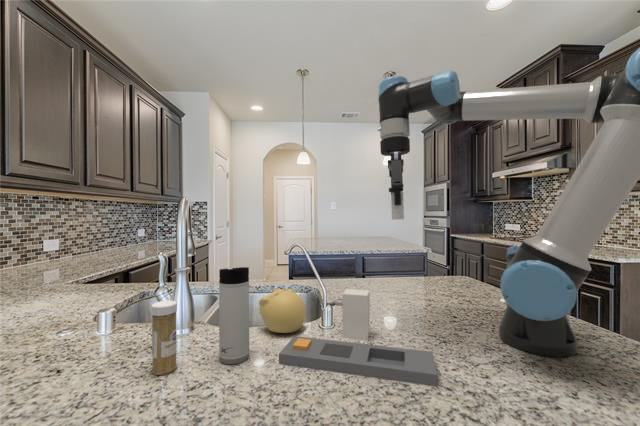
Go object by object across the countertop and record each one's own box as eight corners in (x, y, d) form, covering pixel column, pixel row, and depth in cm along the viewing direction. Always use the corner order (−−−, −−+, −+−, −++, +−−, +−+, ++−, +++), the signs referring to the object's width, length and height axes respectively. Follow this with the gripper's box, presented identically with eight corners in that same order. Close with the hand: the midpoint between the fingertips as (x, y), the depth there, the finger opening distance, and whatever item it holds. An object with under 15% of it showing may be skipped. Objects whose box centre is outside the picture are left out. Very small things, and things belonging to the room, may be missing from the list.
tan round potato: (286, 318, 89) (286, 282, 89) (314, 329, 81) (314, 289, 81) (253, 329, 81) (253, 289, 81) (280, 342, 73) (280, 298, 73)
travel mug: (222, 368, 60) (222, 269, 60) (217, 354, 66) (217, 264, 66) (252, 361, 63) (252, 267, 63) (245, 349, 69) (245, 262, 69)
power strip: (432, 366, 61) (432, 347, 61) (437, 391, 52) (437, 370, 52) (294, 349, 69) (294, 332, 69) (278, 368, 60) (278, 349, 60)
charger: (369, 333, 76) (369, 290, 76) (367, 341, 72) (367, 295, 72) (337, 330, 79) (337, 288, 79) (333, 337, 74) (333, 293, 74)
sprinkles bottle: (173, 374, 58) (173, 305, 58) (148, 377, 57) (147, 307, 57) (179, 362, 63) (179, 298, 63) (155, 365, 62) (155, 300, 62)
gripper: (381, 150, 92) (383, 219, 91) (378, 126, 68) (381, 220, 67) (406, 148, 90) (409, 218, 90) (413, 122, 66) (416, 219, 65)
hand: (397, 219), depth 78 cm, fingers open, 13 cm apart
